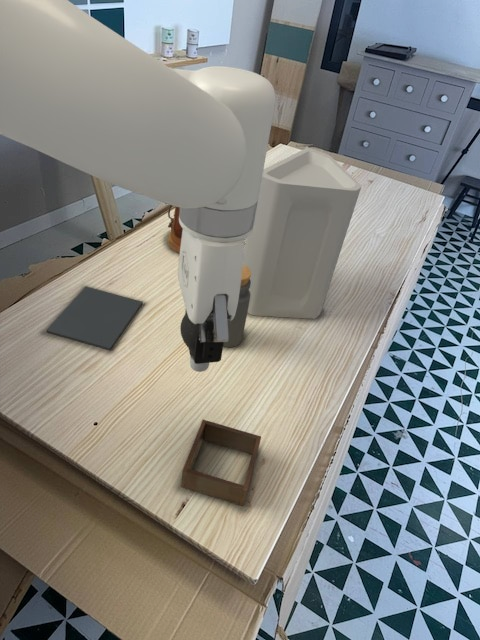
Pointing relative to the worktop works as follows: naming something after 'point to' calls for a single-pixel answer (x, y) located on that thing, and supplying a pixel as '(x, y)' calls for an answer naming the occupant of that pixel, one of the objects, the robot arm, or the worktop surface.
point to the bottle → (240, 311)
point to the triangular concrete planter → (298, 234)
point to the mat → (95, 318)
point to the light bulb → (193, 339)
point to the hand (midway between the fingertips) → (201, 341)
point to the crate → (213, 484)
